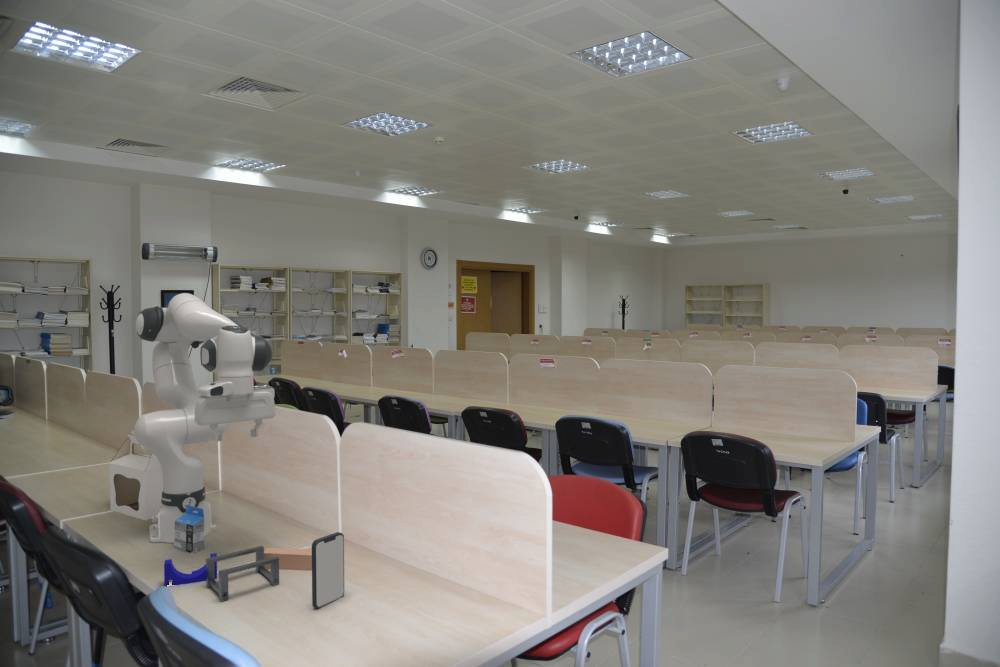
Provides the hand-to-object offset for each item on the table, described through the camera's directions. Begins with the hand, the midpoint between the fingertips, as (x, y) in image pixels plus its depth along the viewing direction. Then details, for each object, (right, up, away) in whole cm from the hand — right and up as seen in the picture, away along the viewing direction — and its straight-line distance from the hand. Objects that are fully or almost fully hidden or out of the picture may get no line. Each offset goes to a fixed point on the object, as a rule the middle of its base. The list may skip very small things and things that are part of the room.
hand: (236, 438), depth 171 cm
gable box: (-51, -34, +49) cm, 79 cm away
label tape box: (-20, -35, +15) cm, 43 cm away
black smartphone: (+30, -36, -19) cm, 50 cm away
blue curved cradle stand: (-9, -36, -6) cm, 37 cm away
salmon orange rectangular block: (+15, -35, +1) cm, 38 cm away
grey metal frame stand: (+6, -36, -10) cm, 37 cm away
